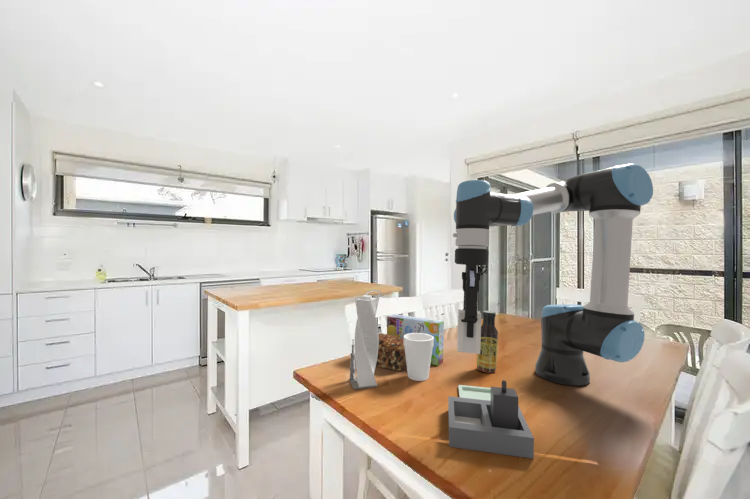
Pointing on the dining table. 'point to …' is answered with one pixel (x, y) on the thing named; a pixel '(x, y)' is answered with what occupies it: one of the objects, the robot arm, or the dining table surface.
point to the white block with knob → (461, 327)
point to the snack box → (419, 331)
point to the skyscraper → (365, 343)
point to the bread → (391, 352)
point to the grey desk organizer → (490, 424)
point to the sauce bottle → (488, 344)
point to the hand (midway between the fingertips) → (468, 347)
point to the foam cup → (418, 355)
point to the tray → (474, 392)
